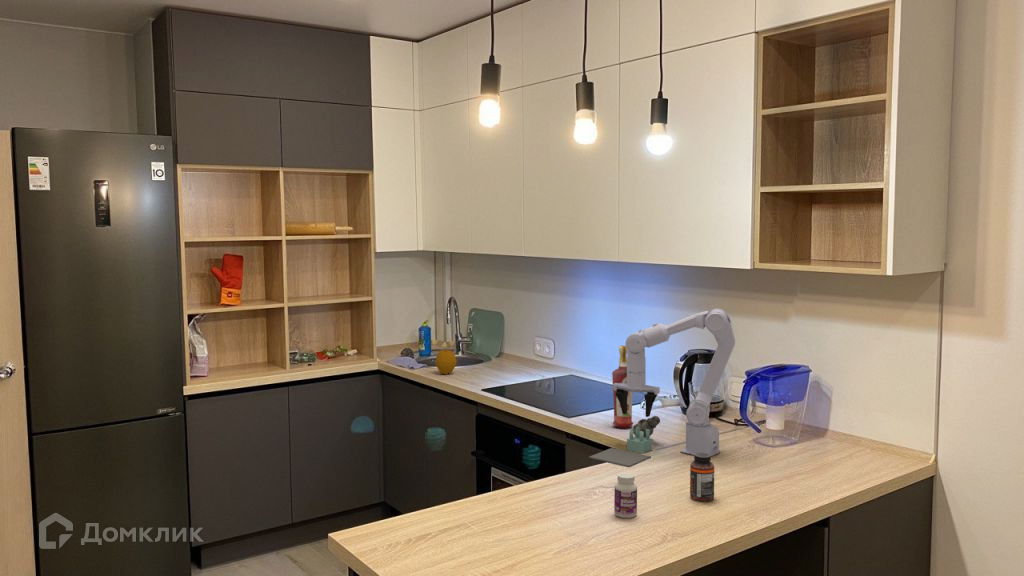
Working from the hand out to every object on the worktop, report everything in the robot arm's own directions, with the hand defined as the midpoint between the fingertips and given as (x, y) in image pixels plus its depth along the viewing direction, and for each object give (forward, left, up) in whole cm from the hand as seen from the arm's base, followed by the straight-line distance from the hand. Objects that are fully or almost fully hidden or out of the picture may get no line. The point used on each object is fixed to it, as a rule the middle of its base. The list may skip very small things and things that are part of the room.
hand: (636, 414), depth 245 cm
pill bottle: (-29, +51, -11) cm, 59 cm away
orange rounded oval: (+134, -48, -11) cm, 142 cm away
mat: (-2, +13, -10) cm, 17 cm away
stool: (-2, +2, -10) cm, 11 cm away
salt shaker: (+5, -10, -8) cm, 14 cm away
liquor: (+17, -18, -11) cm, 27 cm away
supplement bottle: (-37, +29, -11) cm, 48 cm away
